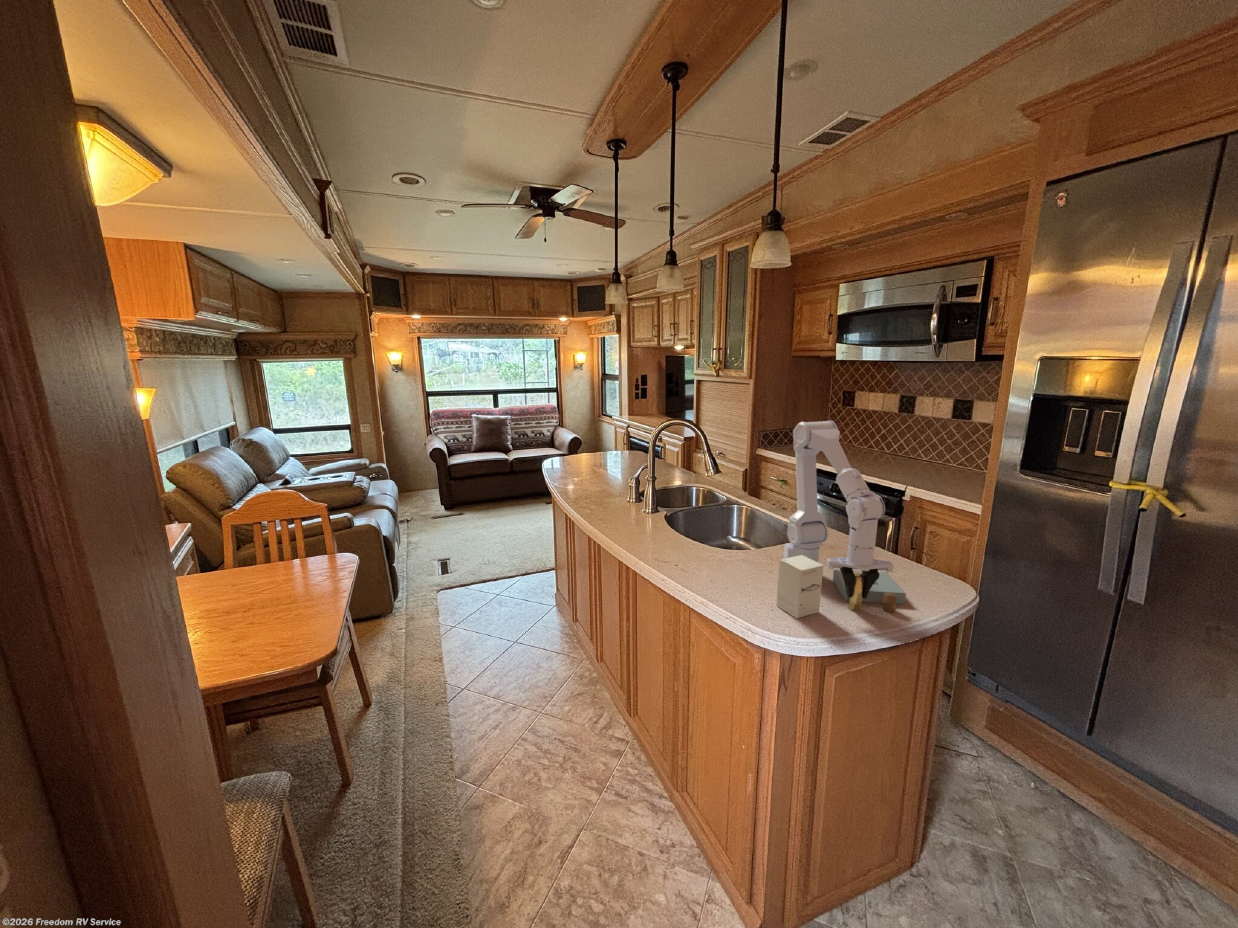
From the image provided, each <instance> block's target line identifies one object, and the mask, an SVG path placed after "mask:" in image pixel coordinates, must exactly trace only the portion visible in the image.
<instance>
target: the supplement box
mask: <svg viewBox="0 0 1238 928" xmlns="http://www.w3.org/2000/svg"><path fill="white" fill-rule="evenodd" d="M778 566H779V567H778V579H777V580H778V581H777V593H776V594H777V595H776V606H777V607H779V608H780V609H781V610H783V611H784V612H786V613H787V612H788V613H787V614H789V615H790V614H791V615H790V616H792V617H793V616H794V617H793V618H795V619H799V618H802V617H806V616H809V615H813V614H816V613H819V612H820V607H821V606H820V605H821V598H822V597H821V596H822V595H821V593H822V587H823V586H822V584H823V576H824V575H823V574H824V564H822V563H820V562H819V563H818V562H816V561H814V560H812V559H809V558H807V557H805V556H803V555H799V556H795V557H790V558H786V559H783V558H782V559H779V564H778Z"/></svg>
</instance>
